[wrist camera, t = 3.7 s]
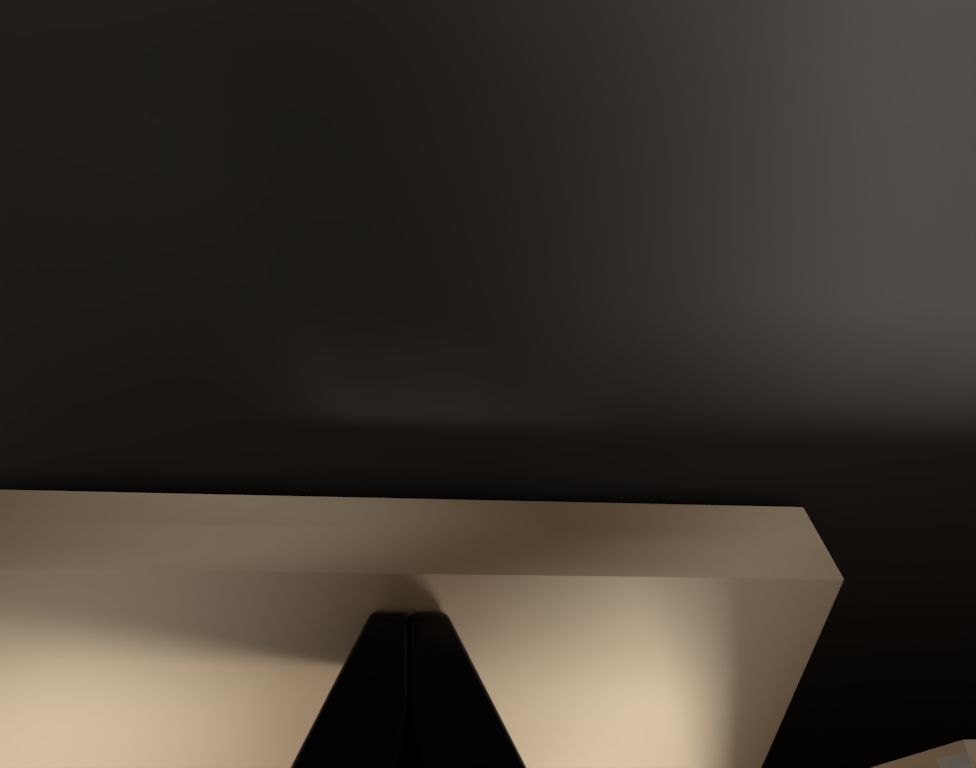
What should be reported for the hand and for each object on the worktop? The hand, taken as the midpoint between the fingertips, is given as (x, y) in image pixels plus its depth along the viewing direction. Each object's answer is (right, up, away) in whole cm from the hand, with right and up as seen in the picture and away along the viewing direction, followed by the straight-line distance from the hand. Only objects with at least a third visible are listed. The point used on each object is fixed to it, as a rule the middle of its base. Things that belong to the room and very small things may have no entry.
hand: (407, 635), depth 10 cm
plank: (0, -1, +2) cm, 3 cm away
